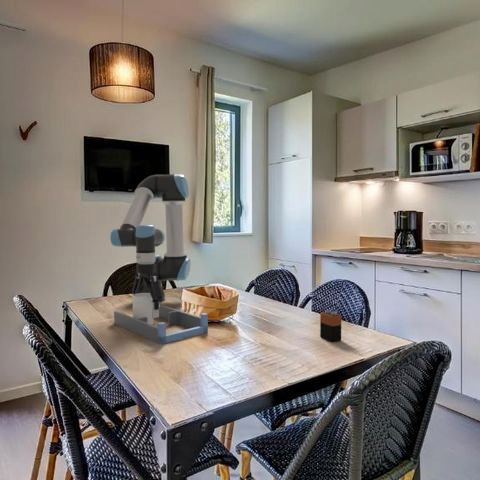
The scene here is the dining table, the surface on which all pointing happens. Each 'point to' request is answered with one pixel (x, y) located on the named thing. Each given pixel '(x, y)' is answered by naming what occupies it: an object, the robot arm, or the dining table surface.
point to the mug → (143, 306)
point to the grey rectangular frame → (150, 330)
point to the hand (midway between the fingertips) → (146, 314)
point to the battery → (330, 326)
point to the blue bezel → (184, 333)
